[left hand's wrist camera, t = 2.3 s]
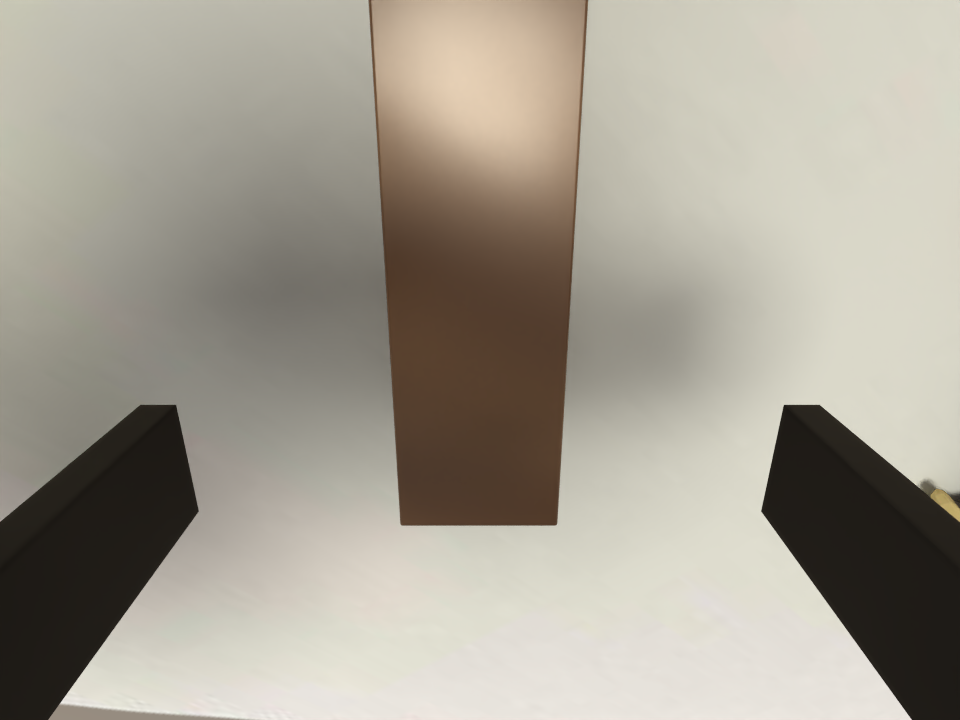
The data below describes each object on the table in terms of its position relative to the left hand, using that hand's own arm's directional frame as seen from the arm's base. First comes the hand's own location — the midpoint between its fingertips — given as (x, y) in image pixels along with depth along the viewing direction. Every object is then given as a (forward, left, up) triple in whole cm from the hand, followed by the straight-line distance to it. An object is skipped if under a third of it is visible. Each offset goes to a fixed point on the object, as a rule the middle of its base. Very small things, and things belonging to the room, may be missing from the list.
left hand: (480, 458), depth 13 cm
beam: (-3, +25, -12) cm, 28 cm away
